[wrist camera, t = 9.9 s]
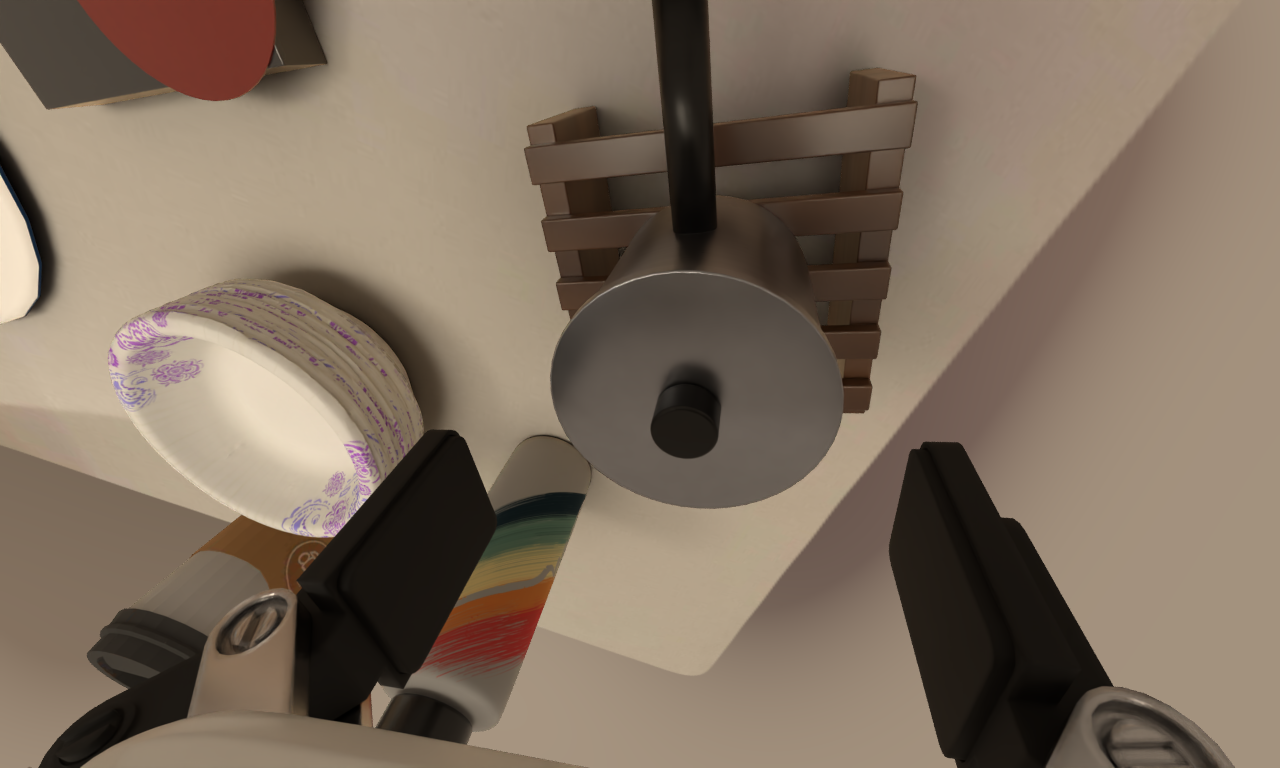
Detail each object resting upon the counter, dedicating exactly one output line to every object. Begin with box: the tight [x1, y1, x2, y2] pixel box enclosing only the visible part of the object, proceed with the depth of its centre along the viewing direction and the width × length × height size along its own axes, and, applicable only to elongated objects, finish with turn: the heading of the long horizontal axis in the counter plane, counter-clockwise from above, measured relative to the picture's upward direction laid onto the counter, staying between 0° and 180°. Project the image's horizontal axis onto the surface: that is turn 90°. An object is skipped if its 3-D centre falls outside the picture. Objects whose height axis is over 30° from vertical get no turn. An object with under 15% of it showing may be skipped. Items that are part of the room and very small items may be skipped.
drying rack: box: [524, 68, 918, 413], centre depth 20 cm, size 12×12×6 cm
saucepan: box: [550, 0, 844, 509], centre depth 13 cm, size 7×13×8 cm, turn 8°
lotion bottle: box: [375, 436, 591, 745], centre depth 26 cm, size 6×6×20 cm
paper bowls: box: [108, 279, 424, 537], centre depth 29 cm, size 15×15×8 cm
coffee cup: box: [87, 515, 334, 689], centre depth 36 cm, size 8×8×15 cm
